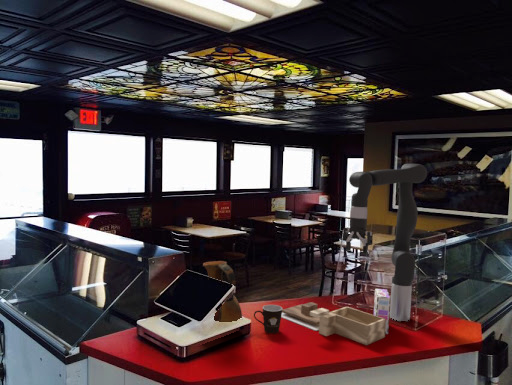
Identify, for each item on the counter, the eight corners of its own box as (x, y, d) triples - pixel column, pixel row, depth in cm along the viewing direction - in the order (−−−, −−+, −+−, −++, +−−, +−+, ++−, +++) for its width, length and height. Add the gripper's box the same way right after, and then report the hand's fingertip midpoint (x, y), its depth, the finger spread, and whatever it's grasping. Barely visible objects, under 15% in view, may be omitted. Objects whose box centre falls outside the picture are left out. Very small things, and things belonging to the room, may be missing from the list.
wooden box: (346, 323, 201) (347, 306, 200) (384, 337, 186) (386, 318, 186) (318, 333, 187) (319, 315, 187) (358, 349, 173) (359, 329, 172)
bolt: (321, 311, 187) (321, 307, 187) (329, 313, 184) (329, 310, 184) (309, 315, 182) (309, 311, 182) (317, 317, 179) (317, 314, 179)
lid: (302, 308, 218) (303, 296, 218) (336, 320, 203) (337, 307, 203) (281, 314, 208) (282, 301, 208) (316, 327, 193) (316, 313, 192)
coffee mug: (283, 328, 191) (284, 306, 190) (278, 335, 183) (279, 312, 182) (258, 324, 194) (259, 302, 194) (252, 331, 186) (253, 308, 186)
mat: (302, 307, 221) (302, 306, 221) (342, 321, 203) (343, 320, 203) (275, 315, 208) (275, 314, 208) (315, 331, 190) (315, 330, 190)
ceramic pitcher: (215, 319, 199) (218, 254, 197) (251, 330, 187) (254, 262, 185) (185, 331, 183) (187, 261, 181) (221, 344, 171) (224, 270, 169)
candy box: (388, 334, 189) (390, 297, 188) (374, 332, 191) (376, 296, 190) (385, 323, 203) (387, 289, 202) (372, 322, 204) (374, 287, 203)
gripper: (340, 215, 197) (338, 250, 198) (367, 219, 186) (365, 256, 187) (350, 214, 202) (348, 248, 203) (377, 218, 191) (374, 254, 192)
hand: (356, 252), depth 195 cm, fingers open, 8 cm apart
